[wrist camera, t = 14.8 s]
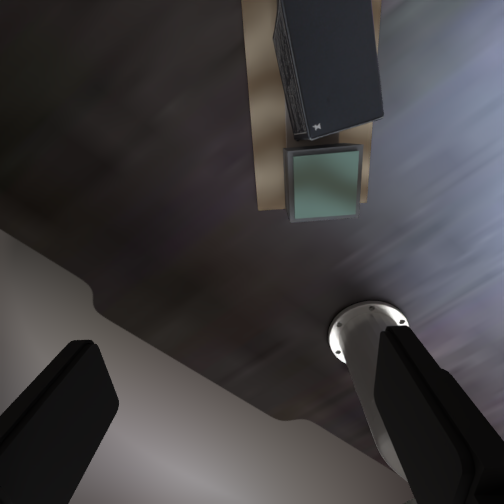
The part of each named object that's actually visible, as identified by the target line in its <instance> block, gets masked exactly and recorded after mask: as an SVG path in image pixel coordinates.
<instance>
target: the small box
mask: <svg viewBox="0 0 504 504" xmlns="http://www.w3.org/2000/svg"><path fill="white" fill-rule="evenodd" d="M273 43H274V48H275V53H276V57H277V62H278V66H279V71H280V76H281V80H282V85H283V90H284V95H285V99H286V105H287V109H288V113H289V118H290V122H291V126H292V131H293V135H294V139H295V140H296V141H299V140H311V141H313V140H315V139H318V138H321V137H324V136H328V135H331V134H334V133H337V132H340V131H343V130H347V129H350V128H353V127H357V126H360V125H363V124H367V123H370V122H373V121H377V120H379V119H382V118H383V117H384V112H383V102H382V93H381V85H380V76H379V67H378V58H377V49H376V40H375V30H374V20H373V11H372V1H371V0H278V8H277V14H276V21H275V28H274V33H273Z"/></svg>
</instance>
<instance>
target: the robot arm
mask: <svg viewBox="0 0 504 504" xmlns="http://www.w3.org/2000/svg"><path fill="white" fill-rule="evenodd" d="M328 342H329V345H330V348H331V350H332V352H333V353H334V355H335V356H336V357H337V358H338V359H340V360H341V361H342V362H344V363H346V364H347V366H348V369H349V372H350V375H351V377H352V380H353V383H354V386H355V390H356V391H357V394H358V396H359V399H360V402H361V405H362V407H363V410H364V413H365V416H366V418H367V421H368V424H369V427H370V429H371V432H372V435H373V438H374V440H375V443H376V445H377V448H378V450H379V452H380V454H381V455H382V457H383V458H384V460H385V461H386V462H387V464H388V465H389V466H390V467H391V468H392V469H393V470H394V471H395V472H396V473H397V474H399V475H400V476H401V477H402V478H404V479H405V480H406V481H408V483H409V485H410V488H411V490H412V492H413V495H414V497H415V498H414V499H412V500H409V501H407V503H404V504H504V441H503V440H502V439H501V437H500V436H499V435H498V434H497V432H496V431H495V430H494V428H493V427H492V426H491V425H490V423H489V422H488V421H487V420H486V418H485V417H484V416H483V414H482V413H481V412H480V411H479V409H478V408H477V407H476V406H475V404H474V403H473V402H472V400H471V399H470V398H469V397H468V395H467V394H466V393H465V392H464V390H463V389H462V388H461V387H460V385H459V384H458V383H457V381H456V380H455V379H454V378H453V376H452V375H451V374H450V373H449V372H448V371H446V370H444V369H441V368H440V367H439V365H438V364H437V363H436V361H435V360H434V359H433V357H432V356H431V355H430V354H429V352H428V351H427V350H426V348H425V347H424V346H423V344H422V343H421V342H420V340H419V339H418V338H417V337H416V335H415V334H414V333H413V331H412V330H411V329H410V327H409V323H408V321H407V319H406V317H405V316H404V315H403V313H402V312H401V311H400V310H399V309H397V308H396V307H394V306H393V305H391V304H388V303H385V302H381V301H364V302H359V303H356V304H353V305H351V306H349V307H347V308H345V309H344V310H343V311H341V312H340V313H339V314H338V315H337V316H336V317H335V318H334V320H333V321H332V323H331V325H330V327H329V331H328ZM118 407H119V400H118V397H117V394H116V392H115V389H114V386H113V384H112V381H111V378H110V376H109V373H108V371H107V368H106V365H105V363H104V360H103V357H102V355H101V352H100V349H99V347H98V345H97V344H94V342H93V341H92V340H74V341H71V342H70V343H68V345H67V346H66V347H65V348H64V349H63V350H62V351H61V352H60V353H59V354H58V355H57V356H56V357H55V358H54V359H53V360H52V361H51V363H50V364H49V365H48V366H47V367H46V368H45V369H44V370H43V371H42V372H41V373H40V374H39V375H38V376H37V377H36V378H35V380H34V381H33V382H32V383H31V384H30V385H29V386H28V387H27V388H26V389H25V390H24V391H23V392H22V393H21V394H20V395H19V397H18V398H17V399H16V400H15V401H14V402H13V403H12V404H11V405H10V406H9V407H8V408H7V409H6V410H5V411H4V413H3V414H2V415H1V416H0V504H68V503H69V501H70V499H71V497H72V496H73V494H74V492H75V490H76V488H77V486H78V484H79V482H80V480H81V479H82V477H83V475H84V473H85V471H86V469H87V467H88V465H89V464H90V462H91V460H92V458H93V456H94V454H95V452H96V450H97V449H98V447H99V445H100V443H101V441H102V439H103V437H104V435H105V433H106V432H107V430H108V428H109V426H110V424H111V422H112V420H113V418H114V416H115V415H116V413H117V410H118Z"/></svg>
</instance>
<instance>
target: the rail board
mask: <svg viewBox="0 0 504 504" xmlns="http://www.w3.org/2000/svg"><path fill="white" fill-rule="evenodd" d="M371 1H372V11H373V20H374V30H375V40H376V49H377V54H378V40H379V26H380V12H381V0H371ZM241 3H242V15H243V27H244V40H245V52H246V65H247V77H248V90H249V102H250V115H251V127H252V140H253V152H254V165H255V177H256V189H257V202H258V211H262V210H275V209H286V211H287V214H288V218H289V221H290V223H293V222H307V221H321V220H334V219H348V218H359V210H360V203H367V192H368V178H369V165H370V151H371V137H372V123H373V122H370V123H367V124H363V125H360V126H357V127H353V128H350V129H347V130H343V131H340V132H337V133H334V134H331V135H328V136H324V137H321V138H318V139H315V140H313V141H311V140H299V141H296V140H295V139H294V135H293V131H292V126H291V122H290V118H289V113H288V109H287V105H286V99H285V95H284V90H283V85H282V80H281V76H280V71H279V66H278V62H277V57H276V53H275V48H274V43H273V33H274V28H275V21H276V14H277V8H278V0H241Z"/></svg>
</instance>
